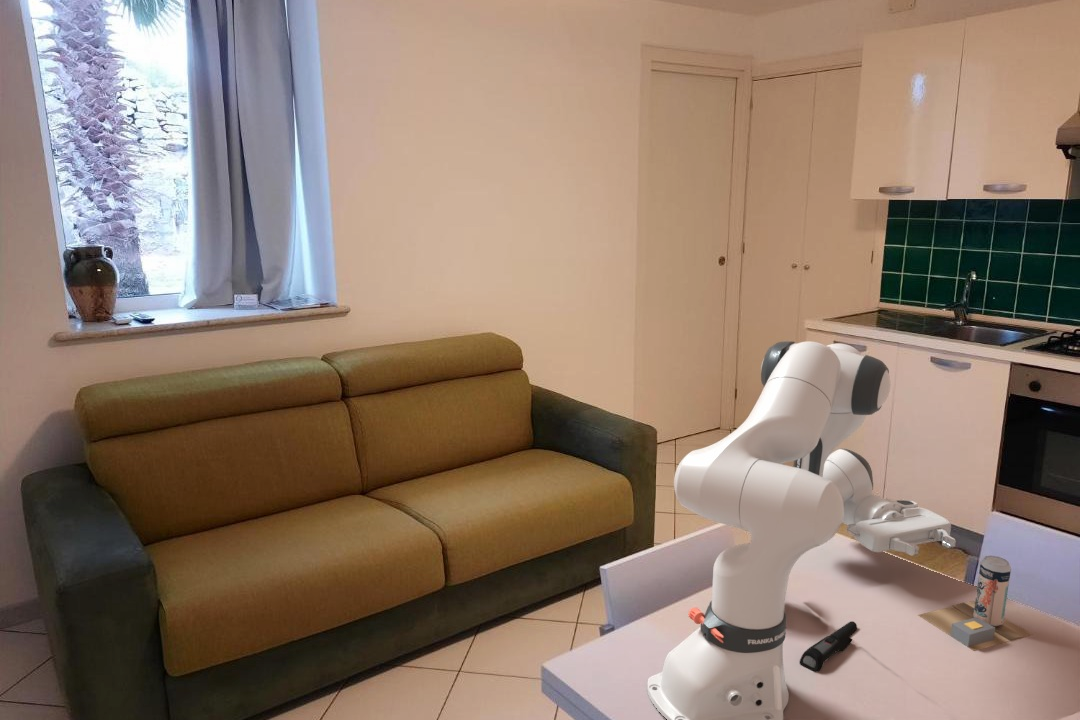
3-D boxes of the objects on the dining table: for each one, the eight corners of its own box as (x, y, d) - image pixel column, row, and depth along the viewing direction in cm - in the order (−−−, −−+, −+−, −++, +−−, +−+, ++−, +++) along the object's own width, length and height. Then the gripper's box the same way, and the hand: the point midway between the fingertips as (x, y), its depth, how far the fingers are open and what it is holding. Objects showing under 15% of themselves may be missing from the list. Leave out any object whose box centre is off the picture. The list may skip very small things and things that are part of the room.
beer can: (968, 613, 140) (976, 554, 138) (994, 614, 140) (1003, 554, 137) (980, 627, 136) (989, 566, 133) (1008, 628, 135) (1017, 567, 133)
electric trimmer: (862, 641, 136) (864, 625, 135) (817, 675, 126) (819, 658, 125) (842, 632, 138) (844, 616, 138) (797, 664, 129) (798, 648, 128)
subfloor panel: (972, 658, 130) (974, 649, 129) (916, 622, 141) (917, 614, 140) (1031, 641, 134) (1032, 633, 134) (972, 608, 145) (973, 600, 145)
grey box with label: (968, 647, 130) (969, 633, 130) (950, 635, 134) (952, 622, 133) (993, 639, 132) (995, 626, 132) (975, 629, 136) (977, 616, 135)
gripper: (842, 513, 156) (894, 541, 143) (918, 499, 163) (974, 525, 150) (840, 541, 157) (891, 571, 144) (915, 526, 164) (970, 554, 151)
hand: (934, 547), depth 147 cm, fingers open, 8 cm apart
